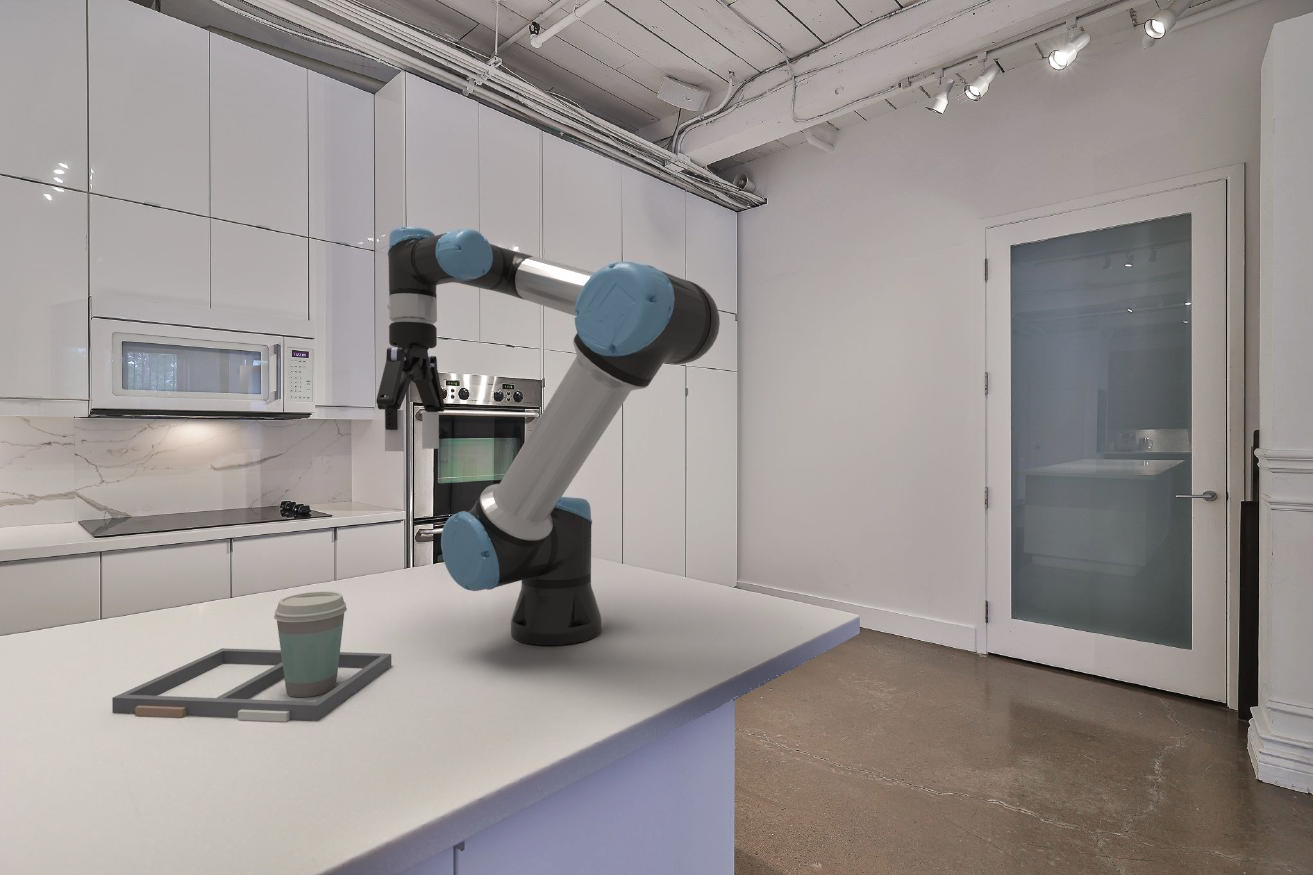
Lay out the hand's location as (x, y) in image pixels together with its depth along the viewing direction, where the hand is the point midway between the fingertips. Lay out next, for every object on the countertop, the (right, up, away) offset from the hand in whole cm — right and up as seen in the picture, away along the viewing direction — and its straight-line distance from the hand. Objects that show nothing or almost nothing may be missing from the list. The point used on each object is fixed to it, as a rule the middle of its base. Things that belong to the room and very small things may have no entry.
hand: (413, 450), depth 112 cm
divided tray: (-11, -31, -24) cm, 41 cm away
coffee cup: (-5, -31, -24) cm, 40 cm away
